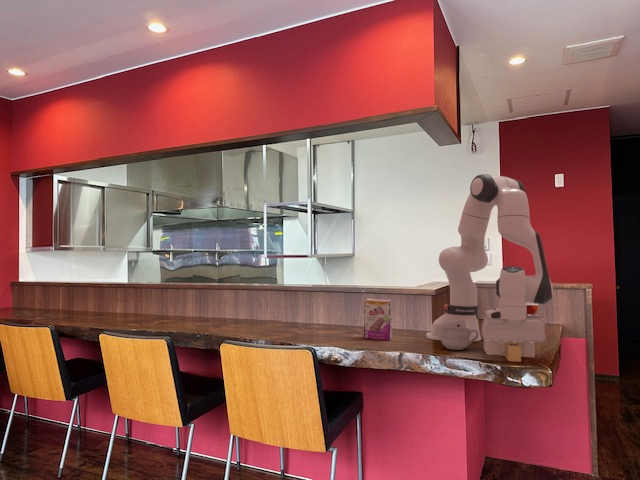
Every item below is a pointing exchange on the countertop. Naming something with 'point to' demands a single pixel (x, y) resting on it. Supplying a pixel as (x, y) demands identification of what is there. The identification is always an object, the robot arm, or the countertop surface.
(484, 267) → the robot arm
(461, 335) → the teacup
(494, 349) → the ticket block
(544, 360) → the countertop surface
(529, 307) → the paper cup
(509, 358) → the stub
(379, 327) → the candy bar box
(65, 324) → the countertop surface
